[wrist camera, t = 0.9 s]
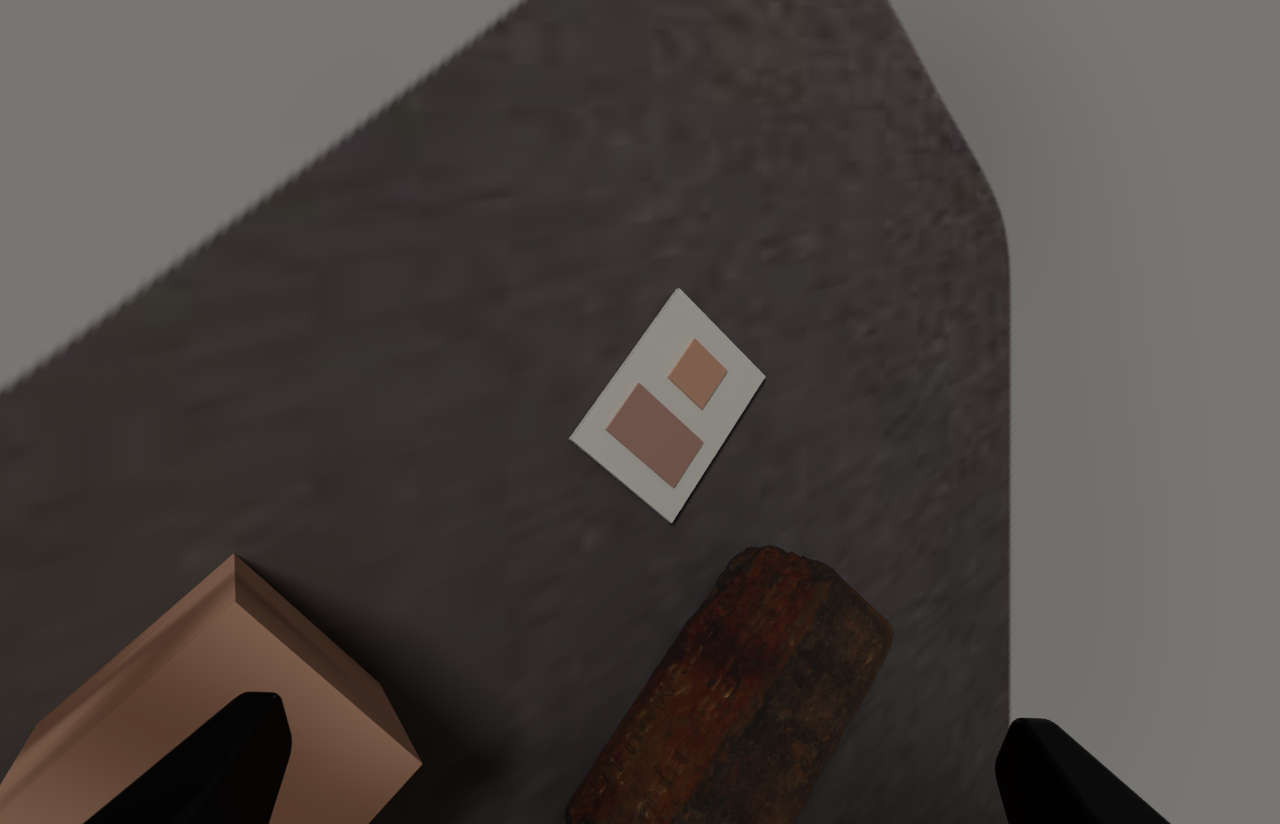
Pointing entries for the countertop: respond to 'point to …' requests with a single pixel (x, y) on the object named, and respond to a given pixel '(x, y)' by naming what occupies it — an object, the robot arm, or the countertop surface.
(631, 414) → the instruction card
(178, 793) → the robot arm
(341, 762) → the top block
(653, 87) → the countertop surface
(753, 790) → the brick
